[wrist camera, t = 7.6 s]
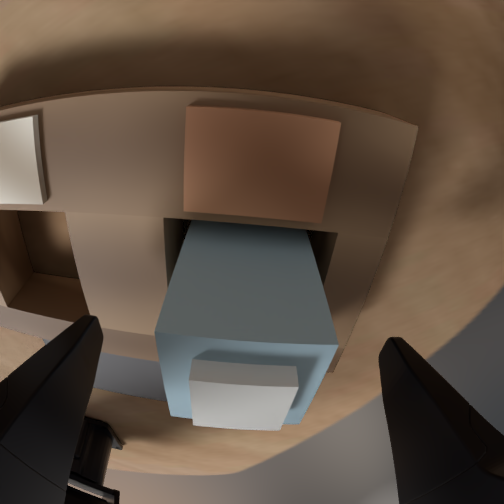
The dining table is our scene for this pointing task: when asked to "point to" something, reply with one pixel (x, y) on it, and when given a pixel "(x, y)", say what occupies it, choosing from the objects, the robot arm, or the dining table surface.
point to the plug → (244, 327)
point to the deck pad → (129, 376)
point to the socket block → (189, 196)
